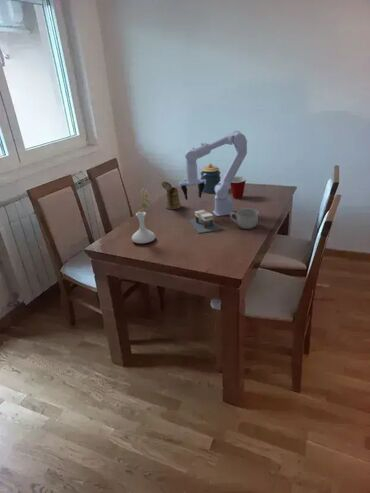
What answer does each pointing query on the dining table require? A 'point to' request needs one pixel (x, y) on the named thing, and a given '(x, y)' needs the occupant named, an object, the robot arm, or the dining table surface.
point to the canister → (210, 178)
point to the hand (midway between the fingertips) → (193, 198)
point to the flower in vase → (143, 233)
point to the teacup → (246, 218)
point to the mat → (200, 226)
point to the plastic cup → (238, 186)
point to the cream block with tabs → (204, 217)
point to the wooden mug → (171, 196)
